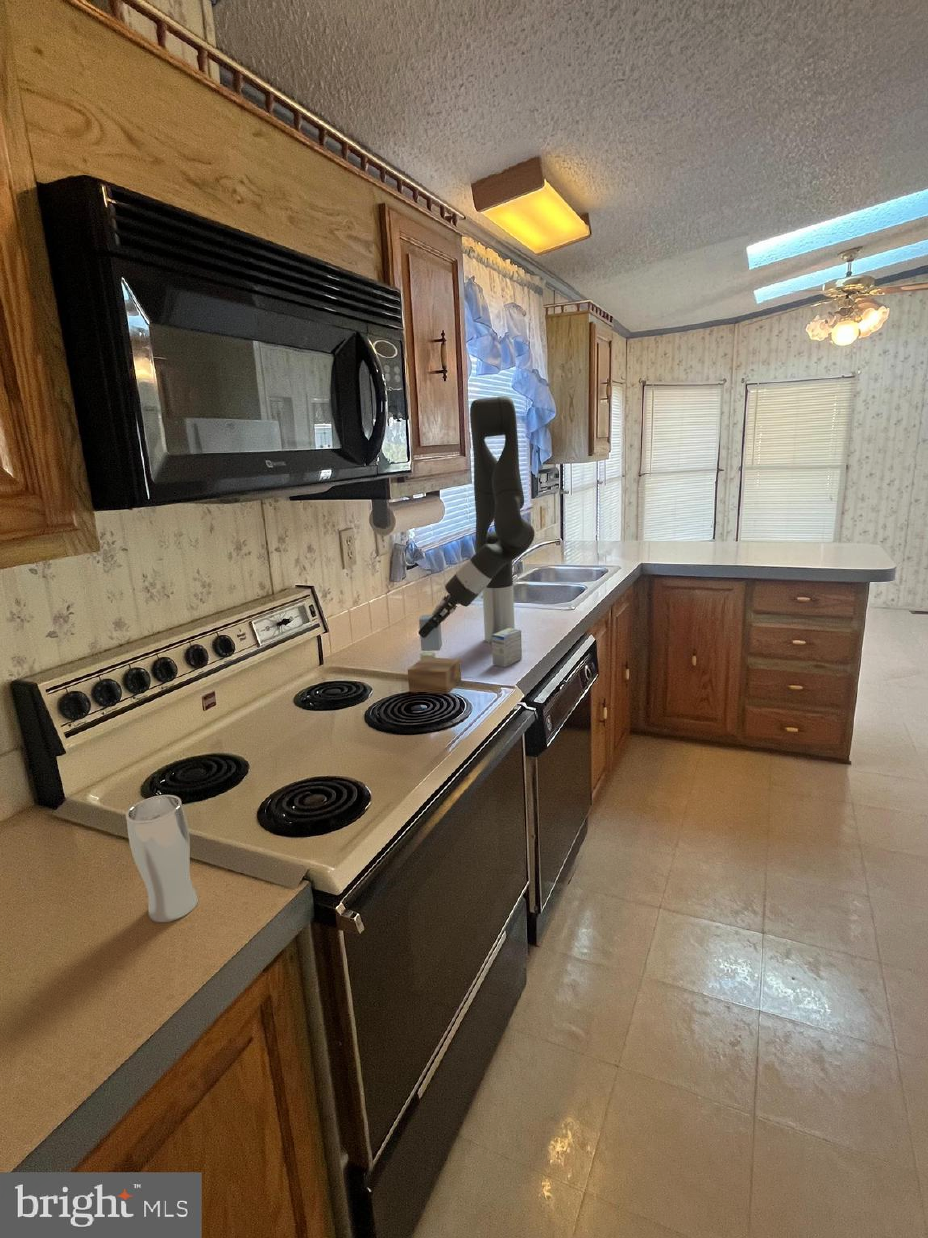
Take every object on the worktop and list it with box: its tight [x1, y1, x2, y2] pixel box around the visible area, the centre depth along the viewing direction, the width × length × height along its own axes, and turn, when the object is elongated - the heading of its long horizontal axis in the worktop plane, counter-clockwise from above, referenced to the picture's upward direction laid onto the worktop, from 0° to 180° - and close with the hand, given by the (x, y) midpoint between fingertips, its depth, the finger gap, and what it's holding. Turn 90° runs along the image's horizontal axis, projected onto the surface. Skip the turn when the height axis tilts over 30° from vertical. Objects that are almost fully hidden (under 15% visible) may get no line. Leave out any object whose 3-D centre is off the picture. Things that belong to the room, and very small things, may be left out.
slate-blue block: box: [418, 614, 443, 652], centre depth 160 cm, size 4×4×8 cm
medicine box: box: [491, 628, 523, 668], centre depth 177 cm, size 8×4×9 cm, turn 141°
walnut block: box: [407, 657, 462, 695], centre depth 162 cm, size 10×10×6 cm
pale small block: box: [419, 651, 436, 660], centre depth 173 cm, size 4×4×5 cm
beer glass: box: [125, 794, 198, 923], centre depth 85 cm, size 7×7×15 cm
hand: (423, 632), depth 160 cm, fingers closed on slate-blue block, 4 cm apart
